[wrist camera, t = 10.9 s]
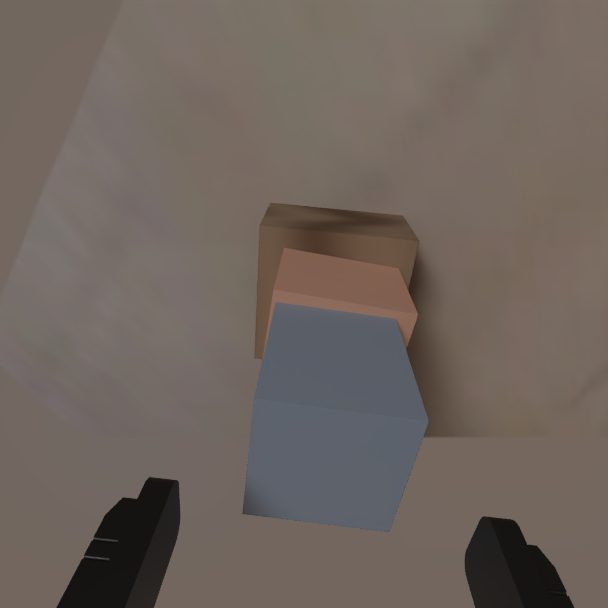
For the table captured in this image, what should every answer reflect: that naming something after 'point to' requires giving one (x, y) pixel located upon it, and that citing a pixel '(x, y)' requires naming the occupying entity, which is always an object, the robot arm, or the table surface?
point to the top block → (343, 288)
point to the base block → (327, 246)
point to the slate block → (333, 420)
